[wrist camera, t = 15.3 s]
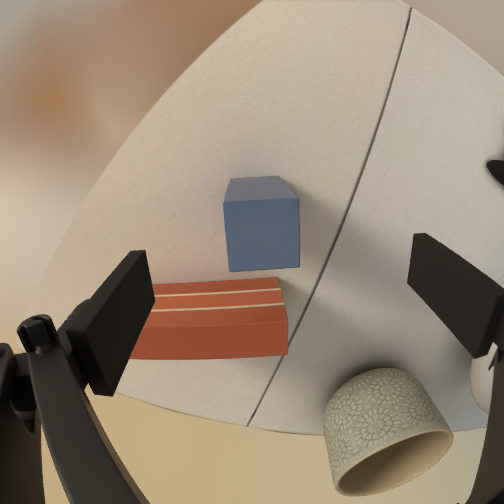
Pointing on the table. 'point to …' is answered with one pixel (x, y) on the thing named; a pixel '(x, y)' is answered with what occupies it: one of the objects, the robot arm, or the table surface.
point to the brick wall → (215, 321)
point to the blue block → (261, 224)
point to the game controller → (497, 169)
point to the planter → (382, 432)
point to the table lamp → (482, 379)
